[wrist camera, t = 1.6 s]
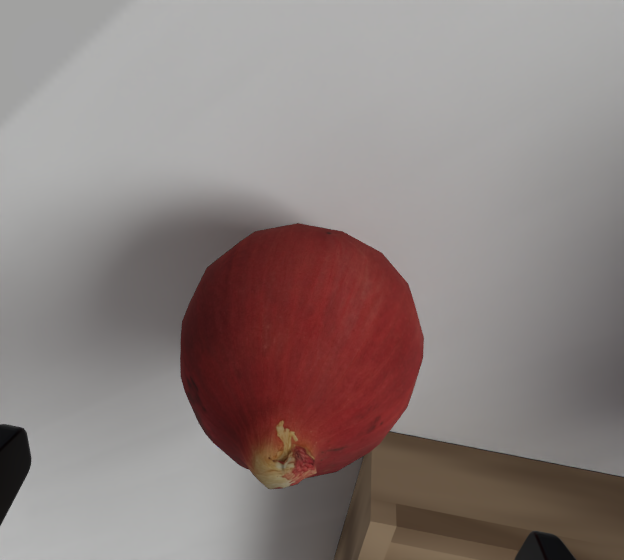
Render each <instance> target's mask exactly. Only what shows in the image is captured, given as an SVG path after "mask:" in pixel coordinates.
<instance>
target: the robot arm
mask: <svg viewBox="0 0 624 560" xmlns="http://www.w3.org/2000/svg"><path fill="white" fill-rule="evenodd" d="M30 466H31V453H30V448H29V443H28V437H27V433H26V431H25V430H24V428H21V427H17V426H12V425H7V424H2V425H0V526H1V524H2V522H3V520H4V518H5V516H6V514H7V512H8V510H9V508H10V506H11V505H12V503H13V501H14V499H15V497H16V495H17V493H18V491H19V489H20V487H21V485H22V483H23V482H24V480H25V478H26V476H27V474H28V472H29V469H30ZM515 560H576V558H575V557H574V556H573V555H572V553H571V552H570V551H569V549H568V548H567V547H566V546H565V544H564V543H563V542H562V540H561V539H560V538H559V537H557V536H556V535H554V534H550V533H545V532H540V531H532V532H530V533H529V535H528V536H527V538H526V540H525V541H524V543H523V545H522V546H521V548H520V550H519V552H518V553H517V555H516V557H515Z"/></svg>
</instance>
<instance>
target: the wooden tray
mask: <svg viewBox="0 0 624 560" xmlns="http://www.w3.org/2000/svg"><path fill="white" fill-rule="evenodd" d="M532 531H540V532H545V533H550V534H554V535H556V536H557V537H559V538H560V539H561V540H562V542H563V543H564V544H565V546H566V547H567V548H568V549H569V551H570V552H571V553H572V555H573V556H574V557H575V558H576V560H624V478H623V477H618V476H613V475H608V474H603V473H597V472H592V471H587V470H582V469H577V468H572V467H567V466H562V465H557V464H551V463H546V462H541V461H536V460H531V459H526V458H521V457H516V456H511V455H505V454H500V453H495V452H490V451H485V450H480V449H475V448H470V447H464V446H459V445H454V444H449V443H444V442H439V441H434V440H429V439H424V438H418V437H413V436H408V435H403V434H398V433H393V432H388V434H387V435H386V436H385V438H384V439H383V440H382V442H381V443H380V444H379V445H378V446H377V447H375V448H374V449H373V450H372V451H371V452H369V453H368V454H366V455H364V458H363V461H362V465H361V468H360V472H359V475H358V478H357V482H356V485H355V489H354V492H353V495H352V499H351V502H350V506H349V509H348V513H347V516H346V519H345V523H344V526H343V530H342V533H341V537H340V540H339V543H338V547H337V550H336V554H335V557H334V560H515V557H516V555H517V553H518V552H519V550H520V548H521V546H522V545H523V543H524V541H525V540H526V538H527V536H528V535H529V533H530V532H532Z"/></svg>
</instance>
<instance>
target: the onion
mask: <svg viewBox="0 0 624 560" xmlns="http://www.w3.org/2000/svg"><path fill="white" fill-rule="evenodd" d="M423 342H424V337H423V333H422V330H421V326H420V322H419V319H418V315H417V311H416V308H415V304H414V300H413V297H412V294H411V291H410V288H409V285H408V283H407V282H406V281H405V280H404V278H403V277H402V276H401V275H400V274H399V273H398V271H397V270H396V269H395V268H394V267H393V266H392V264H391V263H390V262H389V261H388V260H387V258H386V257H385V256H384V255H383V254H382V253H381V252H379V251H377V250H375V249H374V248H372V247H370V246H368V245H366V244H364V243H363V242H361V241H359V240H357V239H355V238H353V237H352V236H350V235H348V234H346V233H344V232H342V231H337V230H331V229H326V228H320V227H315V226H309V225H304V224H299V223H297V224H292V225H287V226H281V227H276V228H271V229H265V230H260V231H255V232H254V233H252V234H251V235H249V236H248V237H246V238H245V239H243V240H242V241H240V242H239V243H238V244H237V245H235V246H234V247H233V248H232V249H230V250H229V251H228V252H226V253H225V254H224V255H222V256H221V257H220V258H219V259H217V260H216V261H215V262H214V263H212V264H211V265H210V266H209V267H207V269H206V271H205V273H204V275H203V277H202V279H201V281H200V283H199V285H198V287H197V289H196V291H195V293H194V295H193V297H192V299H191V301H190V303H189V305H188V308H187V311H186V313H185V316H184V318H183V321H182V330H181V355H180V367H181V379H182V383H183V386H184V390H185V393H186V395H187V397H188V400H189V402H190V404H191V406H192V409H193V411H194V413H195V415H196V418H197V420H198V422H199V424H200V426H201V427H202V429H203V430H204V432H205V434H206V435H207V436H208V437H209V438H210V439H211V441H212V442H213V443H214V444H215V445H217V446H218V447H219V448H220V449H221V450H222V451H224V452H225V453H226V454H227V455H228V456H229V457H230V458H232V459H233V460H234V461H235V462H236V463H237V464H239V465H240V466H242V467H244V468H246V469H249V470H250V471H251V472H252V474H253V475H254V476H255V477H256V478H257V479H258V480H259V481H260V482H261V483H262V484H264V485H265V486H266V487H267V488H268V489H280V488H285V487H289V486H292V485H296V484H298V483H299V482H300V481H302V480H303V479H304V478H309V477H314V476H319V475H324V474H328V473H333V472H337V471H339V470H340V469H342V468H344V467H345V466H347V465H349V464H351V463H352V462H354V461H356V460H357V459H359V458H361V457H363V456H364V455H366V454H368V453H369V452H371V451H372V450H373V449H374V448H375V447H377V446H378V445H379V444H380V443H381V442H382V440H383V439H384V438H385V436H386V435H387V434H388V432H389V431H390V430H391V428H392V427H393V426H394V424H395V423H396V422H397V421H398V419H399V418H400V416H401V415H402V414H403V412H404V411H405V410H406V408H407V406H408V403H409V401H410V398H411V395H412V392H413V389H414V386H415V382H416V379H417V376H418V373H419V369H420V366H421V363H422V359H423Z"/></svg>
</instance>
